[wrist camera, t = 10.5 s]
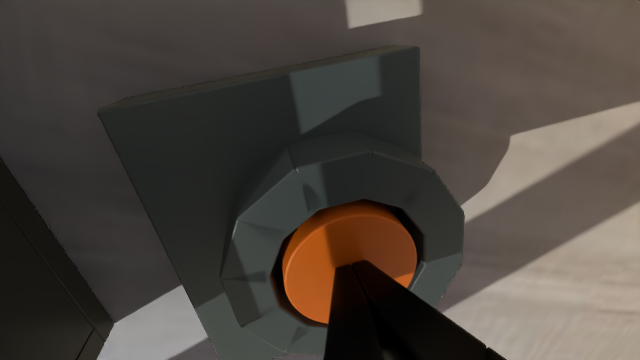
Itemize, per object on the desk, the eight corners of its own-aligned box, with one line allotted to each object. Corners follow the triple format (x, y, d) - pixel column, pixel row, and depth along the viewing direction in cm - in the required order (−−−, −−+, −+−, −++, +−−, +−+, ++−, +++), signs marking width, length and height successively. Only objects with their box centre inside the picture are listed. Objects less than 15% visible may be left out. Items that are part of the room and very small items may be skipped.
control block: (411, 283, 14) (458, 354, 11) (229, 334, 13) (221, 429, 10) (401, 43, 9) (475, 44, 6) (123, 98, 8) (44, 131, 5)
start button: (394, 265, 10) (419, 304, 9) (292, 293, 10) (299, 339, 8) (387, 171, 9) (416, 199, 7) (266, 200, 8) (268, 237, 7)
